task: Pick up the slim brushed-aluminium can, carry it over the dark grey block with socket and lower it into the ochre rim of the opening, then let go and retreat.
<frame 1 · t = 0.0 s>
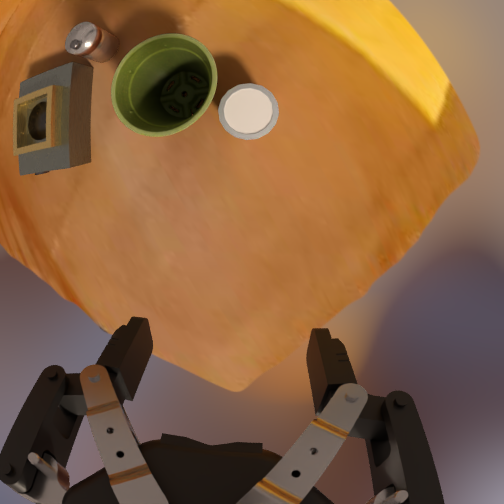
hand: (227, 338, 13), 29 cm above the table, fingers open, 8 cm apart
white cylinder: (249, 115, 35), on the table
plant pot: (186, 95, 34), on the table
grey block with socket: (63, 119, 34), on the table
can: (105, 48, 30), on the table
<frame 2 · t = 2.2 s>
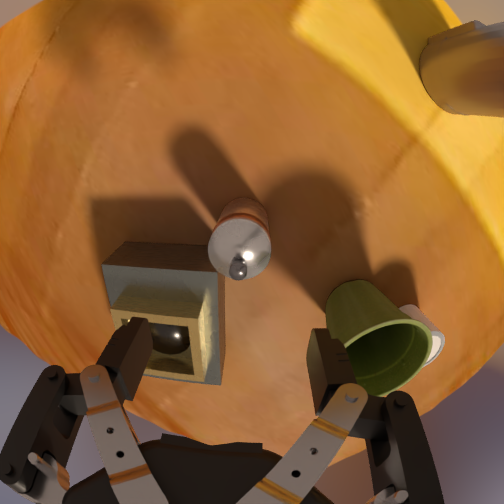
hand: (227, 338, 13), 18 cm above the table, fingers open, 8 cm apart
white cylinder: (403, 319, 35), on the table
plant pot: (352, 303, 34), on the table
grey block with socket: (177, 303, 34), on the table
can: (244, 220, 29), on the table
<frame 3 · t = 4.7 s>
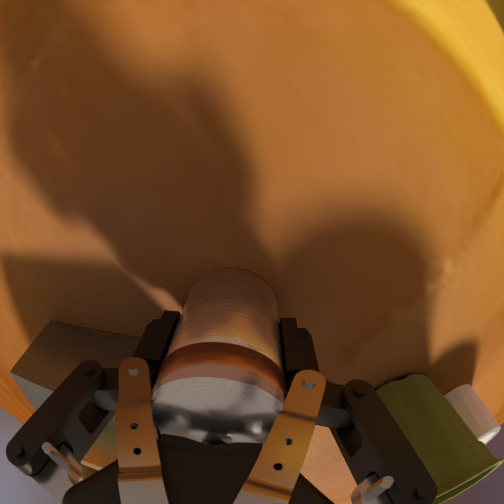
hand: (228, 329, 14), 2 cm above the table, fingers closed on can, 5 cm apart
white cylinder: (450, 400, 21), on the table
plant pot: (394, 398, 20), on the table
grey block with socket: (139, 402, 20), on the table
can: (232, 307, 15), on the table, touching gripper
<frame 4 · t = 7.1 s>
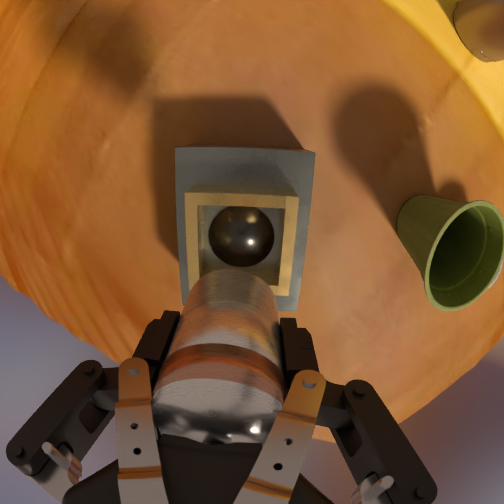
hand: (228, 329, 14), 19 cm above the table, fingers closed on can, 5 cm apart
plant pot: (418, 222, 31), on the table
grey block with socket: (244, 217, 31), on the table
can: (231, 308, 15), point 17 cm above the table, touching gripper
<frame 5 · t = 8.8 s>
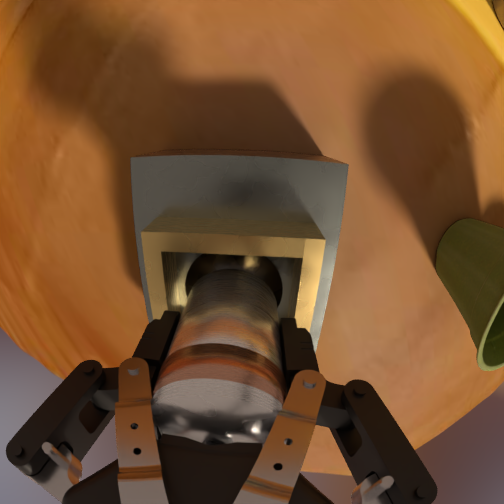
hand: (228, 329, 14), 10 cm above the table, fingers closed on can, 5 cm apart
plant pot: (459, 251, 23), on the table
grey block with socket: (239, 250, 23), on the table
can: (231, 308, 15), point 8 cm above the table, touching gripper
when the fingers open (10 cm above the table, at t = 9.8 s): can drops 2 cm, resting on grey block with socket.
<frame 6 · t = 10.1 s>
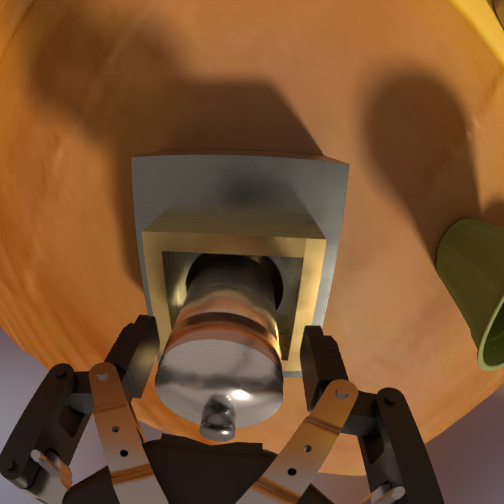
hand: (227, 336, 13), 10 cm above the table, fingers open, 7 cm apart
plant pot: (459, 251, 23), on the table
grey block with socket: (239, 250, 23), on the table
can: (232, 291, 17), point 6 cm above the table, touching grey block with socket
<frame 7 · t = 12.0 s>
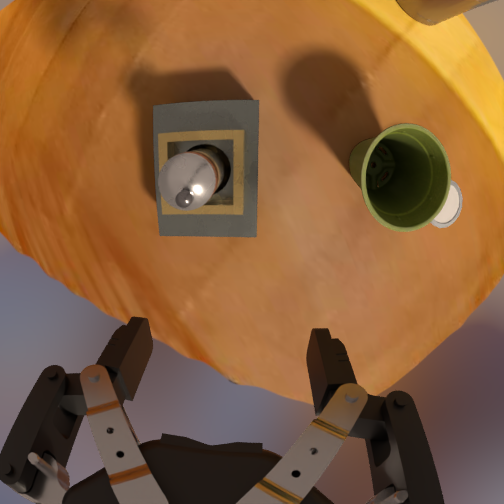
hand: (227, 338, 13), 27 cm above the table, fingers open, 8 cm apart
white cylinder: (419, 191, 37), on the table
plant pot: (371, 165, 35), on the table
grey block with socket: (212, 164, 36), on the table
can: (203, 170, 30), point 6 cm above the table, touching grey block with socket
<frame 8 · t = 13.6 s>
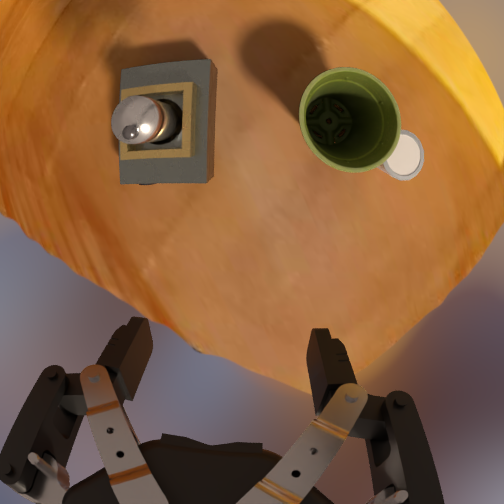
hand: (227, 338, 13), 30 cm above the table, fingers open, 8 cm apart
white cylinder: (382, 150, 37), on the table
plant pot: (328, 122, 36), on the table
grey block with socket: (174, 123, 36), on the table
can: (159, 121, 30), point 6 cm above the table, touching grey block with socket
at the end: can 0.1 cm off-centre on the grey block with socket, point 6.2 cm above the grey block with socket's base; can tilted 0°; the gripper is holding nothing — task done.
